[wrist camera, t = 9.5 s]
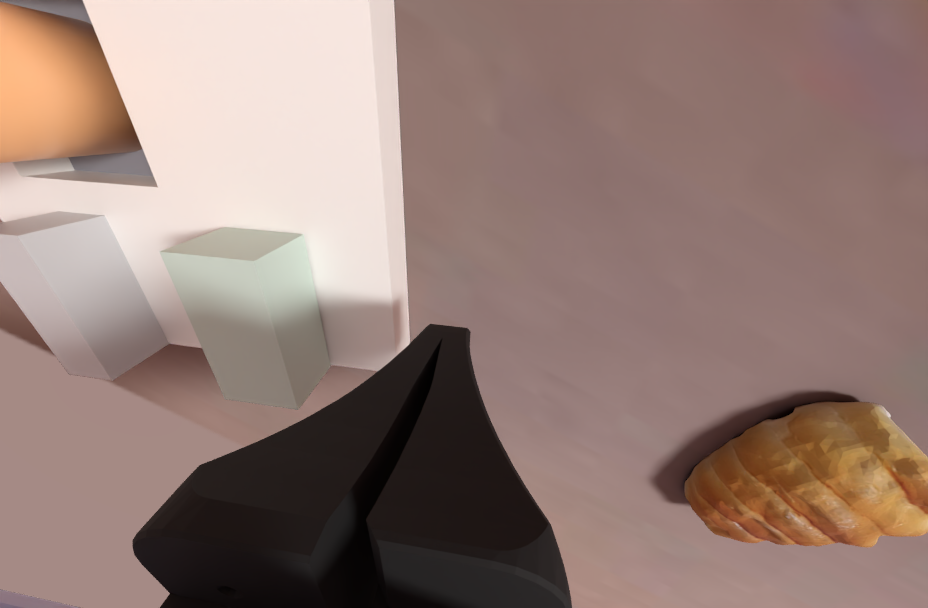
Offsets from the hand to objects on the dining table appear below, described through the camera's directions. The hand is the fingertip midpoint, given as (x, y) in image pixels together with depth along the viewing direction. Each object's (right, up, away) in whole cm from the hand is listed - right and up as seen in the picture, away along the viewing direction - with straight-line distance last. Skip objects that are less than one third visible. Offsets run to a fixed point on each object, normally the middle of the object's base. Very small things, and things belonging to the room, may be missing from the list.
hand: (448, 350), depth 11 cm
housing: (-10, +6, +2) cm, 12 cm away
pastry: (+17, -6, +6) cm, 19 cm away
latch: (-7, +2, +2) cm, 7 cm away
